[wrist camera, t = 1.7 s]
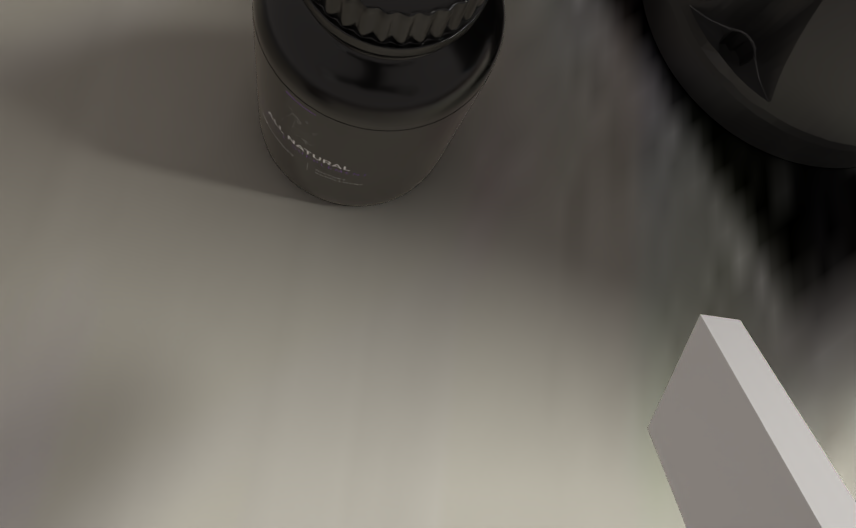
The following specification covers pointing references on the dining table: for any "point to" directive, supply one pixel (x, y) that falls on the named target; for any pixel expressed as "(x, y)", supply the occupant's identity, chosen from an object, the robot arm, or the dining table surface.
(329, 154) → the supplement bottle
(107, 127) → the dining table surface
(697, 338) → the robot arm
